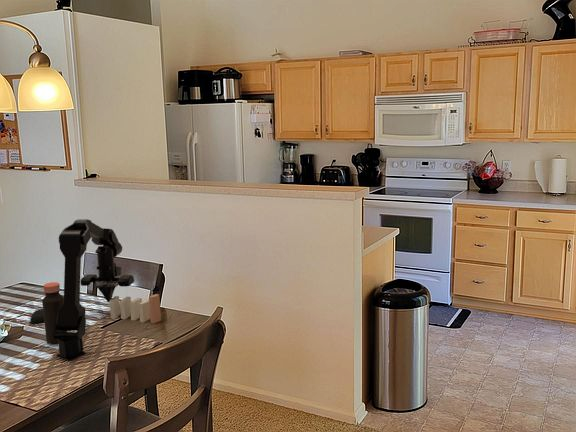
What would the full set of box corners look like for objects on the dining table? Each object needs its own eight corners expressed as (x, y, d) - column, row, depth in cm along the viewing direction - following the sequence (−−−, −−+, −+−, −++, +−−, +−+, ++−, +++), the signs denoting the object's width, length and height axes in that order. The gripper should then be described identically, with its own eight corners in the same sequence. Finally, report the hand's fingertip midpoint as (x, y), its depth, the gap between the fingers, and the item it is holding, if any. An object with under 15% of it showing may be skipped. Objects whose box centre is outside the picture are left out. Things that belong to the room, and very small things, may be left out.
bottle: (59, 345, 188) (53, 288, 184) (42, 343, 190) (35, 286, 186) (72, 337, 194) (66, 282, 190) (55, 335, 196) (49, 280, 192)
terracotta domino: (161, 320, 208) (159, 294, 206) (153, 323, 206) (151, 297, 204) (158, 319, 209) (156, 294, 207) (150, 322, 207) (148, 296, 205)
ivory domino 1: (120, 313, 216) (119, 296, 215) (114, 318, 211) (113, 300, 210) (116, 313, 216) (115, 296, 215) (110, 318, 211) (109, 300, 210)
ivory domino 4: (152, 317, 211) (151, 299, 210) (143, 322, 207) (142, 304, 206) (149, 317, 212) (148, 299, 211) (140, 321, 208) (138, 303, 207)
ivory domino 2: (132, 314, 215) (130, 296, 214) (125, 319, 210) (123, 301, 209) (128, 314, 216) (126, 296, 214) (121, 319, 211) (119, 301, 209)
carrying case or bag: (29, 327, 206) (72, 322, 210) (28, 319, 205) (71, 314, 209) (33, 316, 216) (74, 312, 220) (32, 309, 215) (73, 304, 219)
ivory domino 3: (142, 315, 214) (141, 298, 212) (134, 320, 209) (133, 302, 208) (139, 315, 214) (138, 297, 213) (131, 320, 210) (129, 302, 208)
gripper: (138, 256, 217) (141, 295, 220) (91, 256, 219) (95, 294, 222) (126, 264, 206) (129, 305, 209) (78, 264, 208) (81, 304, 211)
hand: (109, 302), depth 213 cm, fingers closed
